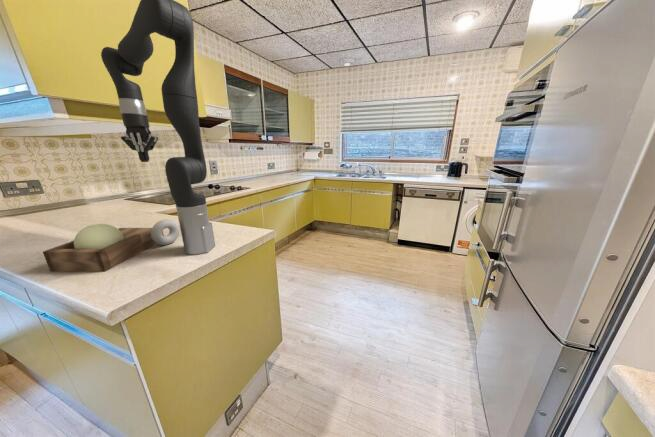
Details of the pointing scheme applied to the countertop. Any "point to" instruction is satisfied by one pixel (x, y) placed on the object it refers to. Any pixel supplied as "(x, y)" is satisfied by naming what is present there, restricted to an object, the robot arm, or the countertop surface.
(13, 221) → the countertop surface
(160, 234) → the donut
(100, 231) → the melon
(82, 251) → the wooden serving tray
